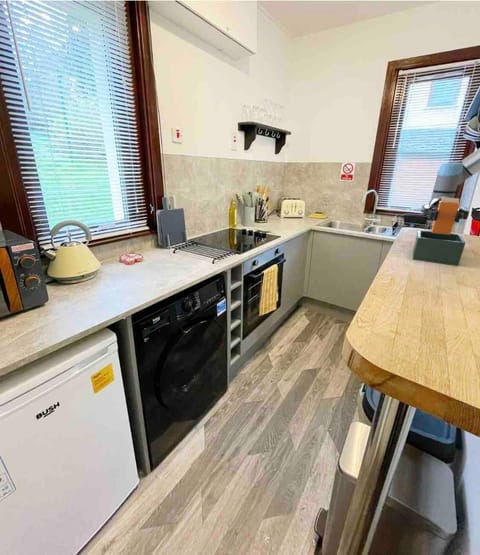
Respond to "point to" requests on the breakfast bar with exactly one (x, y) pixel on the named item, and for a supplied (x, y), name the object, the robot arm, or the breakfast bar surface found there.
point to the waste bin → (438, 247)
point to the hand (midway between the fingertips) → (447, 217)
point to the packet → (446, 216)
